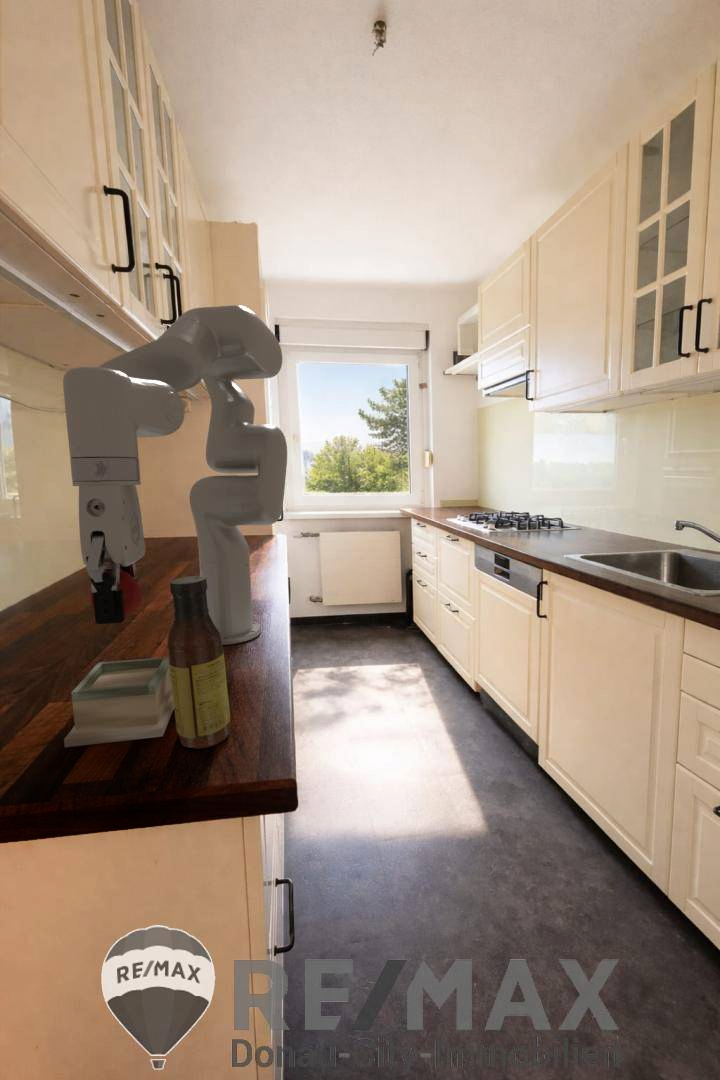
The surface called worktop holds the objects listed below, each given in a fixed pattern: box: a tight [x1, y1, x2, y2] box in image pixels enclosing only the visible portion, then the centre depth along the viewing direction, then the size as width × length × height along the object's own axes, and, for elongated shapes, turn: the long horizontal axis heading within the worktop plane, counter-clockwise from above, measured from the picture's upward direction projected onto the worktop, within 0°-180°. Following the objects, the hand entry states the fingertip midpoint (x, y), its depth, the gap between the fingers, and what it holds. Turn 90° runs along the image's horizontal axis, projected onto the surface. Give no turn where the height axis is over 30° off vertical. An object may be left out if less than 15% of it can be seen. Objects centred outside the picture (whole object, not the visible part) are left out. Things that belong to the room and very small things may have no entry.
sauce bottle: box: [166, 575, 231, 750], centre depth 57 cm, size 7×6×20 cm
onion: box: [90, 564, 143, 625], centre depth 61 cm, size 6×6×8 cm
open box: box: [63, 656, 175, 748], centre depth 63 cm, size 12×11×6 cm
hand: (118, 613), depth 61 cm, fingers closed on onion, 5 cm apart
